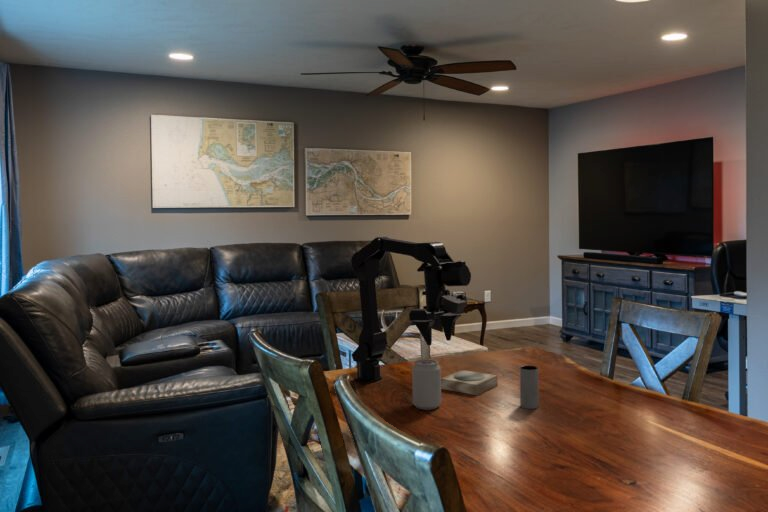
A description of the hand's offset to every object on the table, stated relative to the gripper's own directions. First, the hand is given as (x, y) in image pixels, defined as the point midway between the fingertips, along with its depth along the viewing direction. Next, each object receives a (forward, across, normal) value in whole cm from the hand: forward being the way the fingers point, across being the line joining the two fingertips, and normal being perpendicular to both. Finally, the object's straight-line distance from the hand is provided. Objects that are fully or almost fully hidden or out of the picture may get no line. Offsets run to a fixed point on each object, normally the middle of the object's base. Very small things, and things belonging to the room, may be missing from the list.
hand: (439, 342), depth 171 cm
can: (+15, -11, -2) cm, 19 cm away
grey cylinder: (+17, +5, -24) cm, 29 cm away
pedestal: (+15, +11, -1) cm, 19 cm away
